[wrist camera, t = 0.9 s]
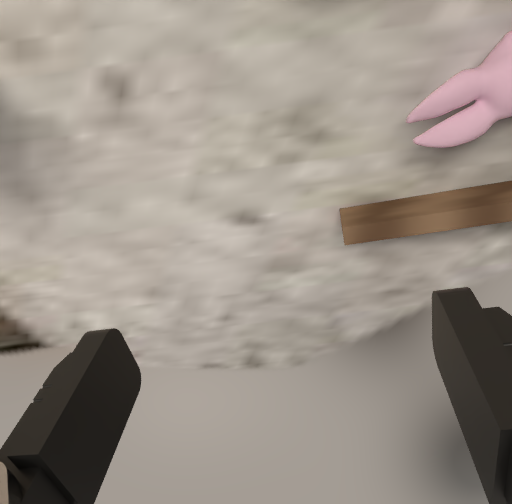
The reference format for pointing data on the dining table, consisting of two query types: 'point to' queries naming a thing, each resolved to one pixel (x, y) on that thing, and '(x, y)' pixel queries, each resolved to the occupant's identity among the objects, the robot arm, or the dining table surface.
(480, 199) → the channel rails
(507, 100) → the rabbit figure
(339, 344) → the dining table surface
